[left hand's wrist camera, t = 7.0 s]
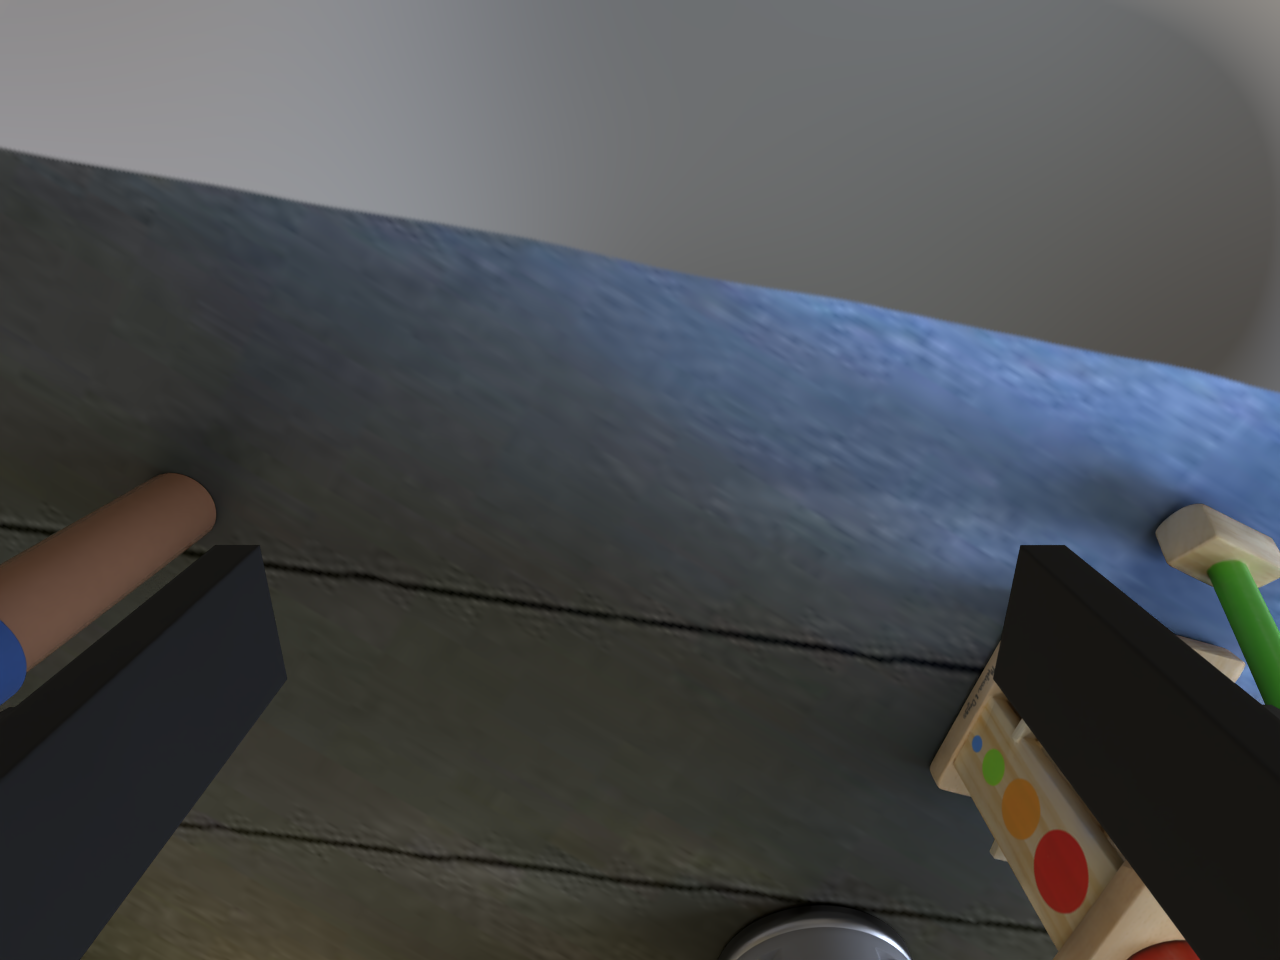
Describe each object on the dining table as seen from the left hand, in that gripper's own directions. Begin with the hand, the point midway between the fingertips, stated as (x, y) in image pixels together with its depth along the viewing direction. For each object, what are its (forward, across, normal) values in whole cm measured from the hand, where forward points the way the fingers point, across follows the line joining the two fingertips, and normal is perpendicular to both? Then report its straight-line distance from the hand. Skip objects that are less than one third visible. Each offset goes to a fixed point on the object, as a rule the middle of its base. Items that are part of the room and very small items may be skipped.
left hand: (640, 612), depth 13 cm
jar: (+28, +27, +10) cm, 40 cm away
